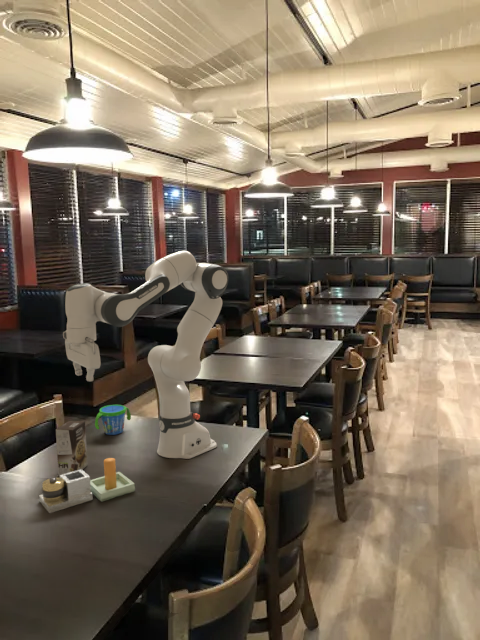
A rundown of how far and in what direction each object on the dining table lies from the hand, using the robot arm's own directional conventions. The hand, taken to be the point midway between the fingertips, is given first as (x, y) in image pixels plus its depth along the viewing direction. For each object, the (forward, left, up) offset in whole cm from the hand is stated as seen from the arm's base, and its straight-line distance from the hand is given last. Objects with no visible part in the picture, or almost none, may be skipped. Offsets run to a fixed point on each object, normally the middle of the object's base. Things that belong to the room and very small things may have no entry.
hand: (84, 377), depth 171 cm
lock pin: (-2, +12, -33) cm, 35 cm away
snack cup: (-24, -35, -34) cm, 55 cm away
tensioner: (+11, +10, -34) cm, 37 cm away
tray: (-2, +12, -34) cm, 36 cm away
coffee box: (+2, -10, -34) cm, 36 cm away
